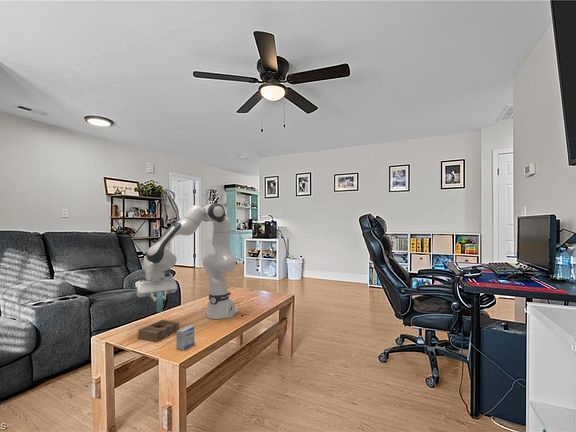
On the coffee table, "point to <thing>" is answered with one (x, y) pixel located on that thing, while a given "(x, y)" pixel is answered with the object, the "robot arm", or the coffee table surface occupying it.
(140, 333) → the hole block
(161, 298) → the peg
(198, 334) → the coffee table surface
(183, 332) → the medicine box
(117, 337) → the coffee table surface
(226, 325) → the coffee table surface
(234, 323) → the coffee table surface
